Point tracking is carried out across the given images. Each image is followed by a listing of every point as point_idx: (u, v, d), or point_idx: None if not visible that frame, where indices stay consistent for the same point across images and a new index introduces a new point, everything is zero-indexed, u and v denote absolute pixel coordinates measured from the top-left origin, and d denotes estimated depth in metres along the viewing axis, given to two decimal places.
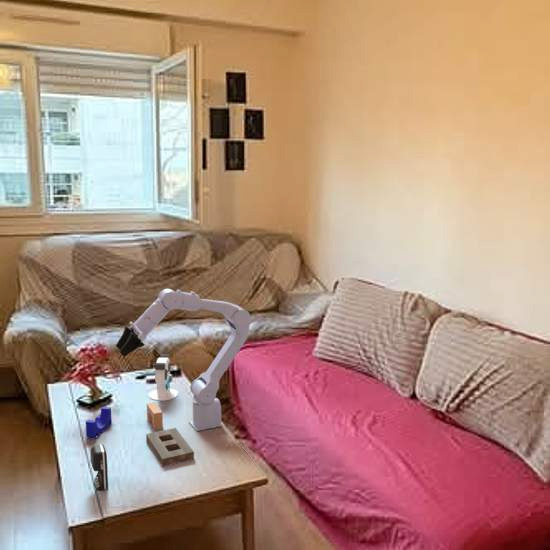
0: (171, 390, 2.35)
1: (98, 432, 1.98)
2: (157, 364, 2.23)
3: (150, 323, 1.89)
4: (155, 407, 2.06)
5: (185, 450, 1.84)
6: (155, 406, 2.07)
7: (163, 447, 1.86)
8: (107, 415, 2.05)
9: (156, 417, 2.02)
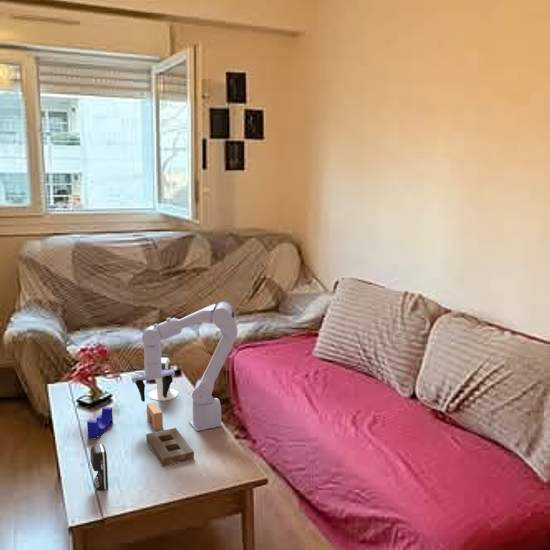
0: (171, 390, 2.35)
1: (99, 432, 1.98)
2: None
3: None
4: (155, 407, 2.06)
5: (185, 450, 1.84)
6: (155, 406, 2.07)
7: (163, 447, 1.86)
8: (108, 415, 2.05)
9: (156, 417, 2.02)
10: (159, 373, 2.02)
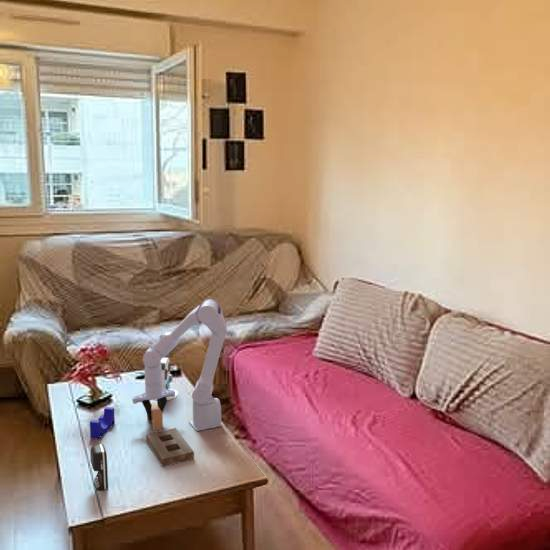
0: None
1: (102, 432, 1.98)
2: None
3: (145, 385, 2.03)
4: (155, 407, 2.06)
5: (185, 450, 1.84)
6: (155, 406, 2.07)
7: (163, 447, 1.86)
8: (110, 415, 2.05)
9: (156, 417, 2.02)
10: (160, 394, 2.03)
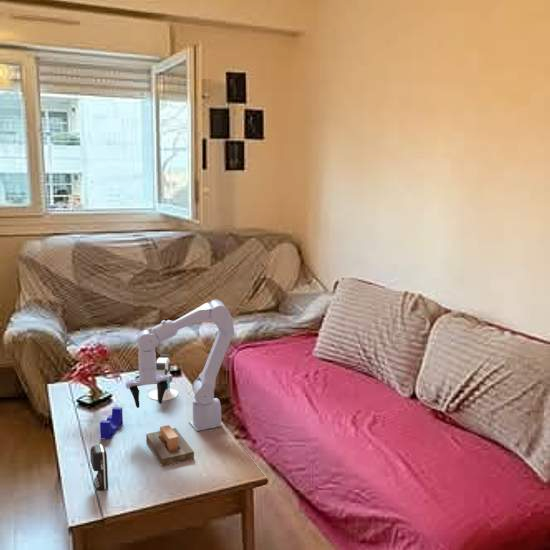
0: (171, 390, 2.35)
1: (112, 432, 1.98)
2: (157, 364, 2.23)
3: (139, 369, 1.96)
4: (169, 431, 1.89)
5: (185, 450, 1.84)
6: (169, 430, 1.90)
7: (163, 447, 1.86)
8: (119, 415, 2.05)
9: (171, 442, 1.85)
10: (154, 378, 1.97)
